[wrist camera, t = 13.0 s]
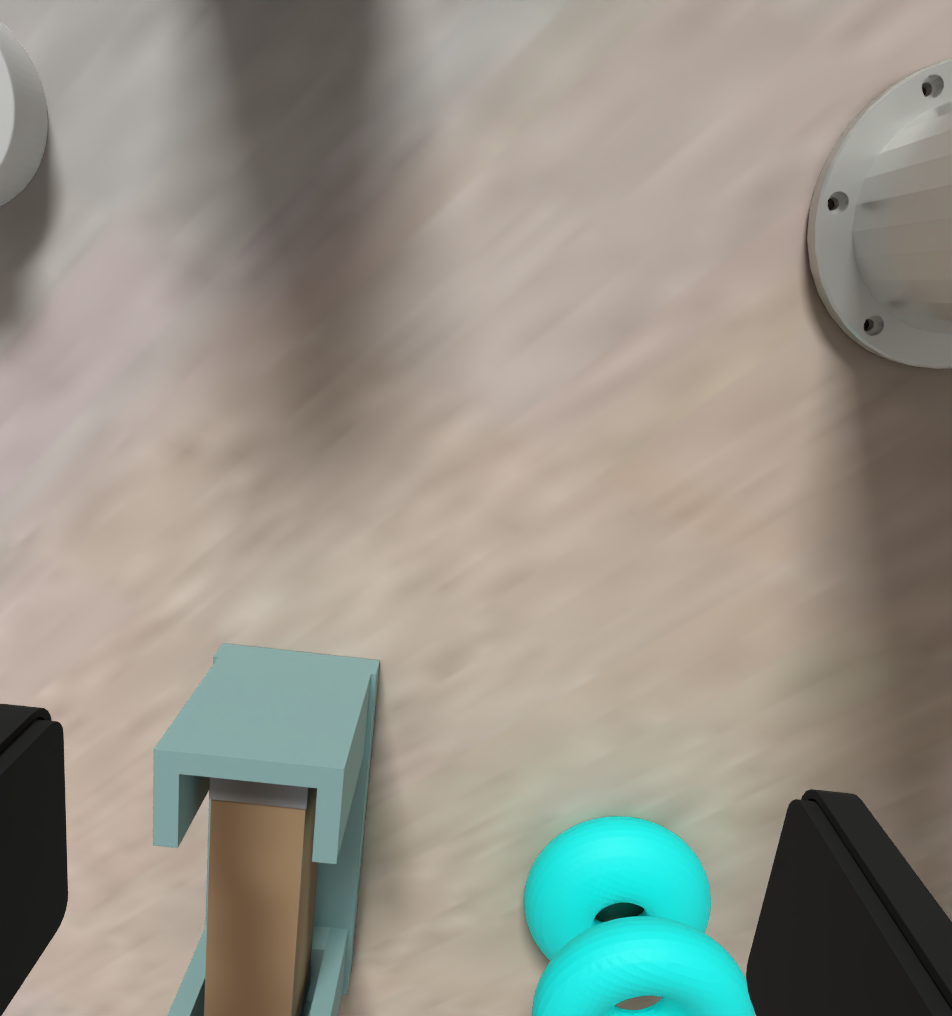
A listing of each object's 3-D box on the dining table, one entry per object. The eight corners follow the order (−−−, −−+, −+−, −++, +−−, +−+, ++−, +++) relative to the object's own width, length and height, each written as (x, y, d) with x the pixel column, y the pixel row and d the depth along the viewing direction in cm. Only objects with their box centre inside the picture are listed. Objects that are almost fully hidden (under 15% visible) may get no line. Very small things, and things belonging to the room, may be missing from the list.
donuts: (585, 927, 33) (803, 994, 34) (562, 781, 42) (731, 836, 43) (501, 1099, 35) (706, 1157, 36) (497, 925, 45) (658, 974, 46)
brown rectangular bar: (330, 720, 38) (308, 784, 33) (309, 984, 42) (287, 1076, 37) (244, 711, 38) (209, 774, 33) (233, 977, 42) (200, 1068, 37)
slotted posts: (379, 660, 40) (350, 770, 31) (350, 972, 46) (318, 1143, 37) (223, 643, 40) (147, 748, 31) (212, 959, 46) (145, 1127, 37)
